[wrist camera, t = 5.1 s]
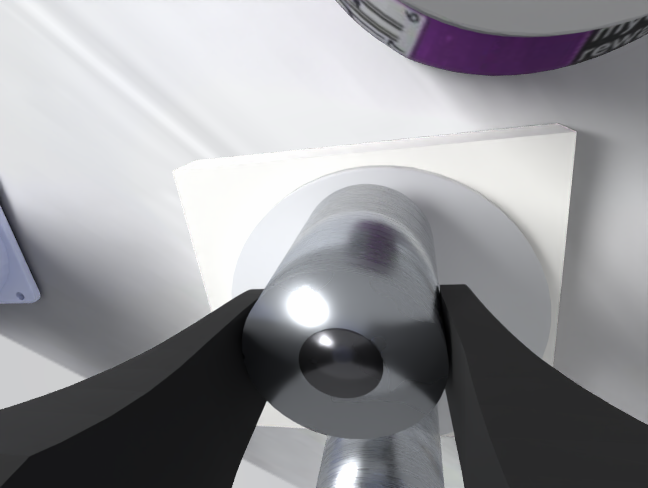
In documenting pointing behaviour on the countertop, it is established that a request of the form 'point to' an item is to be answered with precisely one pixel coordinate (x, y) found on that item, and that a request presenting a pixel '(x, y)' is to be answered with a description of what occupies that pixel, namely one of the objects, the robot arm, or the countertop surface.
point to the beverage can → (501, 31)
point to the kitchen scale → (427, 193)
